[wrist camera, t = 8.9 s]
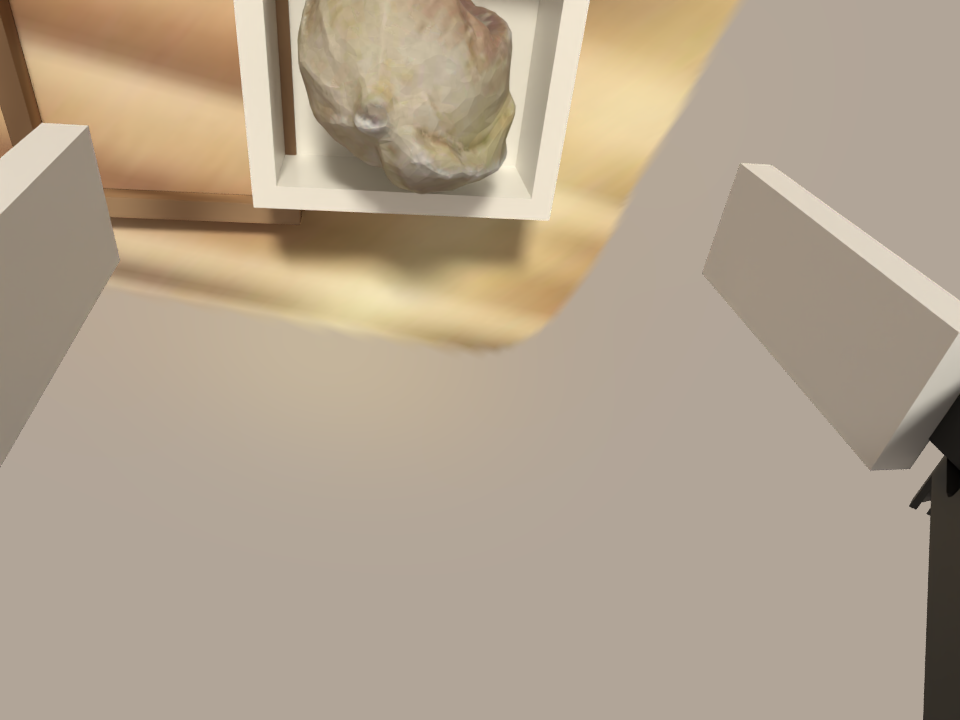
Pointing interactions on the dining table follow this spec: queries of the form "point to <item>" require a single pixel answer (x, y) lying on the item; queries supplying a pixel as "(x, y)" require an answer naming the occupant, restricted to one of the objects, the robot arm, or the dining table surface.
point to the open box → (364, 188)
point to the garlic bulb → (411, 86)
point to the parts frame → (10, 87)
